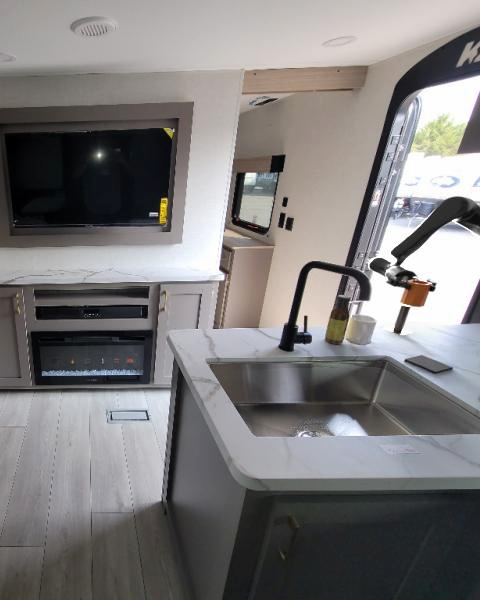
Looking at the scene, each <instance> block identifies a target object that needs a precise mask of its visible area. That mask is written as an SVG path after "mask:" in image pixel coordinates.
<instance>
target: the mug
mask: <svg viewBox="0 0 480 600" xmlns="http://www.w3.org/2000/svg"><path fill="white" fill-rule="evenodd" d="M377 322H378V320H377V319H376V318H375V317H373V316H370V315H365V314H359V313H355V314H354V313H353V314H350V317H349V321H348V325H347V329H346V333H345V337H344V338H345V340H346V341H347V342H349V343H350V344H355V345H359V346H367V345H370V343H371V341H372V338H373V335H374V332H375V328H376V325H377Z"/></svg>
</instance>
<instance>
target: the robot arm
mask: <svg viewBox="0 0 480 600" xmlns="http://www.w3.org/2000/svg"><path fill="white" fill-rule="evenodd" d="M451 222H454V223H455V224H458V225H459V226H461V227H463V228H464V229H466V230H468V231H469V232H471V233H472V234H473V235H474V236H475V237H476V239H478V241H479V242H480V205H479V204H477V202H476V201H474V200H473V199H471V198H469V197H466V196H462V195H457V196H450V197H447V198H445V199H444V200H442V201H441V202H440V203H439V204H438V205H437V206H436V207H435V208H434V210H432V212H431V213H430V214H429V215H428V217H426V218H425V219H424V220H423V221H422V222H421V223H420V224H418V226H417V227H416V228H414V230H413V231H412V232H410V233H409V234H408V235H406V236H405V237H404V238H403V239H402V240H401V241H399V242H398V243H397V244H395V245H394V246H393V247H392V248H390V250H389V255H390V256H391V257H393V258H394V259H393V261H392V260H389V259H388V258H385V257H384V256H376V257H373V258H371V259H370V260H369V262H368V263H367V264H368V266H367V267H368V269H369V270H370V271H372V272H374V273H376V274H378V275H380V276H381V277H383V278H384V279H386V282H385V283H386V284H388V285H390V286H392V287H395V288H400V289H406V290H410V289H411V286H412V285H411V284H409V283H407V281H408V280H421V281H426V282H429V283H431V284H432V285H431V288H430V291H429V293H430V292H431V293H434V292H435V291H436V288H437V284H438V283H437V282H436V281H434V280H432V278H427V279H423V278H419V277H418V275H417V273H415V271H412V270H410V269H409V268H406V267H404V266H402V265H403V264H404V263H405V262H406V261H407V260H408V259H409V258H410V257H411V256H413V255H414V254H415V253H416V252H418V251H419V250H421V249H422V247H423V246H424V245H426V243H428V242H429V240H430V239H431V238H432V237H433V236H434V235H435V234H436V233H437V232H438V231H440V230H441V229H442V228H444V227H445V226H447V225H448V224H450V223H451Z"/></svg>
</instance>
